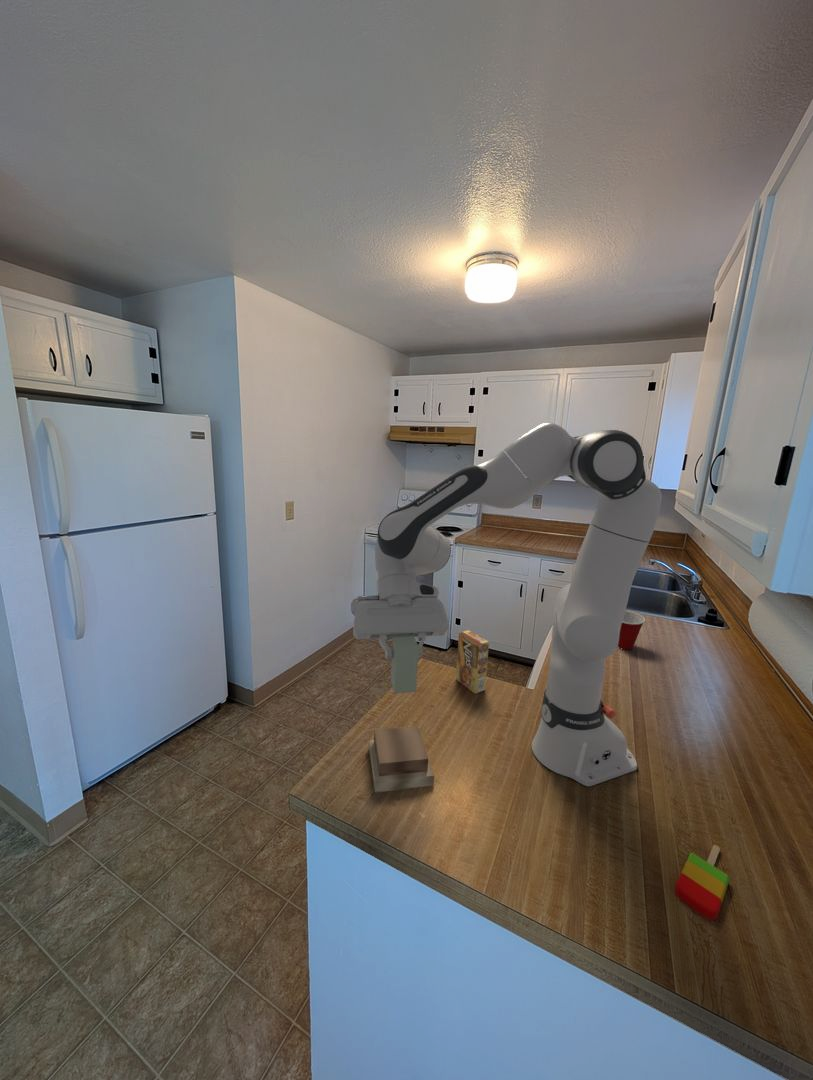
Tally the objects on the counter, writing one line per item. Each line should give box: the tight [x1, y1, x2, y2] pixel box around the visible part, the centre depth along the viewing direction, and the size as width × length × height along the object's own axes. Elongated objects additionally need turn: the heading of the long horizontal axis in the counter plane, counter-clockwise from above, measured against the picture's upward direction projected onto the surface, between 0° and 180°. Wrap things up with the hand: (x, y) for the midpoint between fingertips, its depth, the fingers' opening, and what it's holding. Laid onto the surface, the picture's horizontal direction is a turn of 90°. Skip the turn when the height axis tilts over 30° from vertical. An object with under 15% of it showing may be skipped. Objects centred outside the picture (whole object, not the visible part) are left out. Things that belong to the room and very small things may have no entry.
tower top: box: [373, 725, 429, 776], centre depth 87 cm, size 10×10×3 cm
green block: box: [390, 636, 419, 694], centre depth 83 cm, size 4×4×10 cm
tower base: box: [368, 739, 435, 793], centre depth 87 cm, size 12×12×3 cm
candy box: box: [455, 629, 490, 695], centre depth 118 cm, size 9×4×15 cm, turn 33°
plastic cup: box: [617, 610, 646, 651], centre depth 147 cm, size 11×11×12 cm
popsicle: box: [674, 844, 730, 921], centre depth 67 cm, size 6×15×2 cm, turn 132°
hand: (404, 657), depth 83 cm, fingers closed on green block, 4 cm apart
